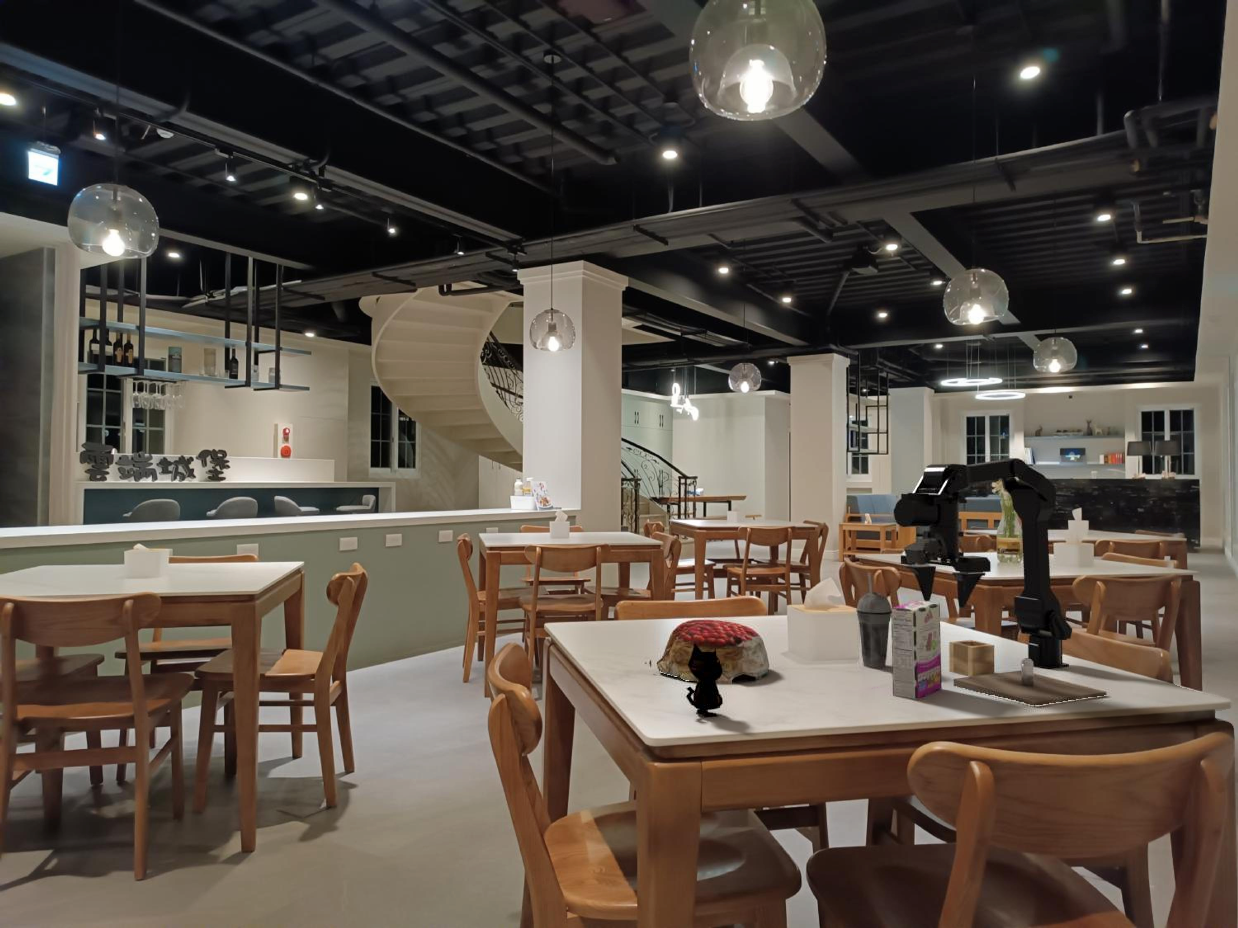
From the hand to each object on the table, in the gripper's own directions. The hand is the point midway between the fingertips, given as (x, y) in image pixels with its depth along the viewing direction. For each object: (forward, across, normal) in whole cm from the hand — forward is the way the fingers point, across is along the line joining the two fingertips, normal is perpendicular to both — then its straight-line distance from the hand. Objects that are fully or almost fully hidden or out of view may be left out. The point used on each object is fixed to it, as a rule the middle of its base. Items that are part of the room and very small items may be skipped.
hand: (943, 604), depth 163 cm
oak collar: (+15, -1, +8) cm, 17 cm away
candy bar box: (+15, +7, -14) cm, 21 cm away
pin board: (+15, +15, +5) cm, 22 cm away
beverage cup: (+15, -14, -6) cm, 21 cm away
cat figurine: (+15, +6, -58) cm, 60 cm away
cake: (+15, -24, -40) cm, 49 cm away
